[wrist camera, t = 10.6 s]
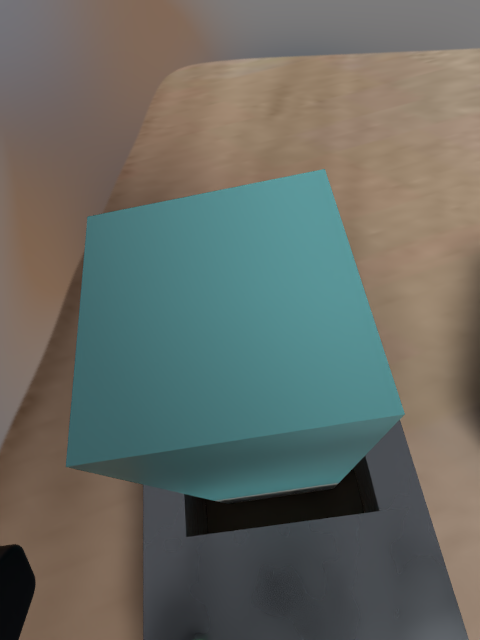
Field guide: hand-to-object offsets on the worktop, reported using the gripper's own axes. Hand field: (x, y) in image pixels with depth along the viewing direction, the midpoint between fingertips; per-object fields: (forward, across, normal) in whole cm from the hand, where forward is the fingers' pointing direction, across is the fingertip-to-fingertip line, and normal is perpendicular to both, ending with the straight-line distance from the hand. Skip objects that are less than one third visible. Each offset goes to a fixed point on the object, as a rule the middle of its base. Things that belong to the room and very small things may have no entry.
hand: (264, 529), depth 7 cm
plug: (+10, 0, +5) cm, 11 cm away
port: (+8, 0, +6) cm, 10 cm away
